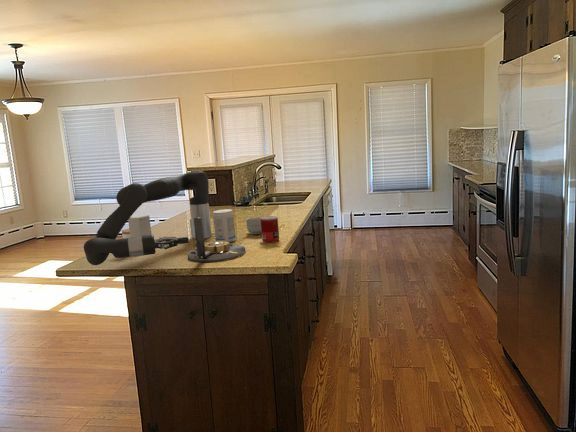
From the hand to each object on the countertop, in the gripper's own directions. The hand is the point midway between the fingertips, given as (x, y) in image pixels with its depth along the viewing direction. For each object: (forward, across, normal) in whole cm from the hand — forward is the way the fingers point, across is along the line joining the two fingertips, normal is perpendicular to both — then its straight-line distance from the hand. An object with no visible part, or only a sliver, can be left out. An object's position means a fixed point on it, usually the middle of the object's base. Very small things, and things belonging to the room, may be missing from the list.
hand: (188, 239), depth 179 cm
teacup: (+39, +43, +10) cm, 59 cm away
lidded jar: (-22, +53, +10) cm, 58 cm away
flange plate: (+12, +10, +10) cm, 19 cm away
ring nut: (+9, +7, +8) cm, 14 cm away
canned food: (+39, +23, +10) cm, 46 cm away
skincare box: (-18, +41, +10) cm, 46 cm away
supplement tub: (+20, +35, +10) cm, 42 cm away
